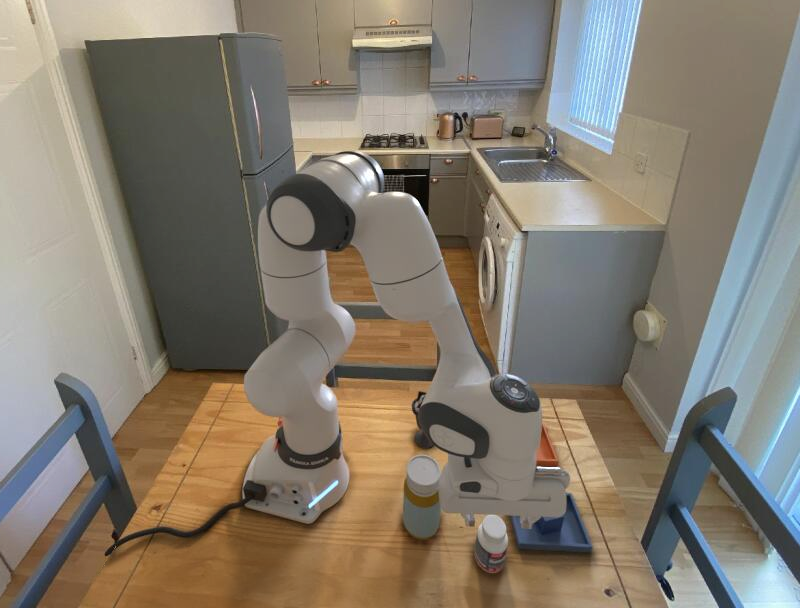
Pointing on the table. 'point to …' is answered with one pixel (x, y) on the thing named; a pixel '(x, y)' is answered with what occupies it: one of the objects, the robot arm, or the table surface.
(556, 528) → the blue block
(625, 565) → the table surface
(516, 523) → the blue tray
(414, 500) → the bottle
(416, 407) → the sundae
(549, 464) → the orange tray
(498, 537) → the pill bottle
